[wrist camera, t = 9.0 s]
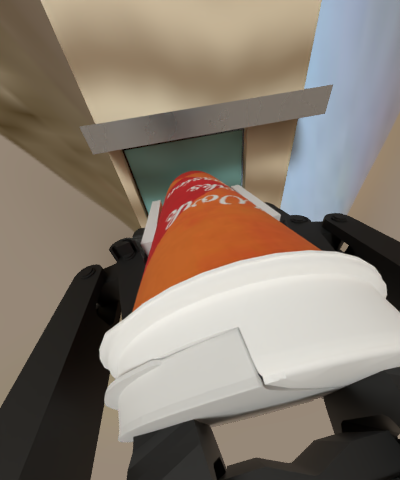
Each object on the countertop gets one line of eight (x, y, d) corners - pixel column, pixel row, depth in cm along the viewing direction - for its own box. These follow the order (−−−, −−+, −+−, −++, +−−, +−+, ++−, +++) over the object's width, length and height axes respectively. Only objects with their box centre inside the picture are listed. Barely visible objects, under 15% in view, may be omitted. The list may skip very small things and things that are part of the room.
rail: (97, 128, 12) (79, 126, 10) (302, 94, 13) (333, 84, 11) (107, 150, 13) (93, 154, 11) (298, 117, 14) (324, 113, 12)
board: (44, -2, 9) (35, -12, 8) (320, -36, 10) (331, -48, 9) (152, 247, 21) (152, 251, 20) (273, 222, 22) (276, 225, 21)
